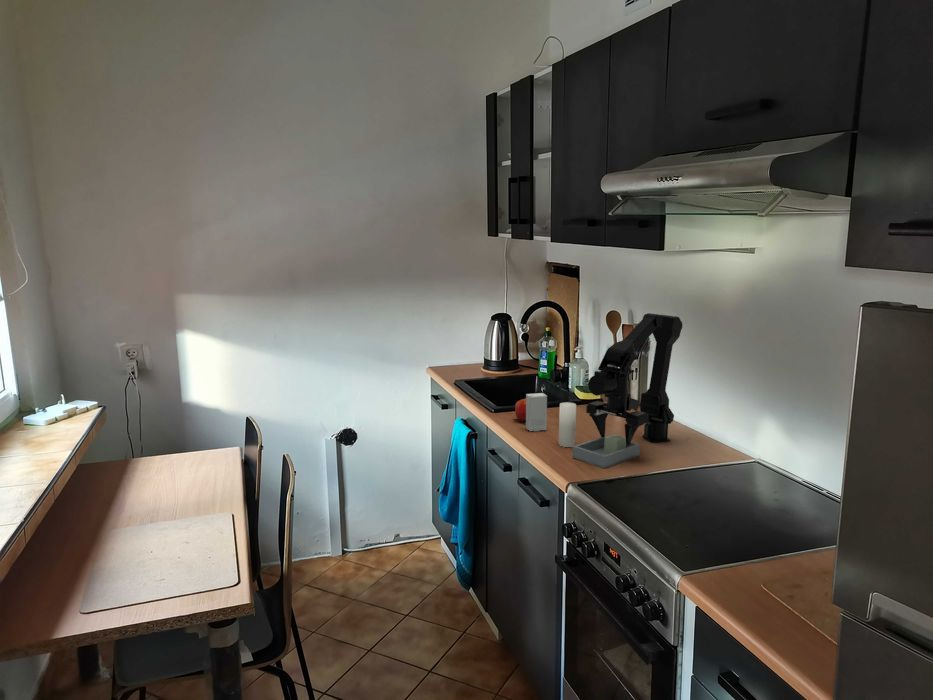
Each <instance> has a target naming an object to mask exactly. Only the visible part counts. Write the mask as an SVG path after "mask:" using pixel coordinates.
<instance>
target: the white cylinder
mask: <svg viewBox="0 0 933 700" xmlns="http://www.w3.org/2000/svg"><path fill="white" fill-rule="evenodd" d="M576 420H577V404H576V403H574V402H567V401H566V402H560V403H559V417H558V444H559V445H560V446H563V447H562V448H564V447H572V448H573V446H576V424H577V421H576ZM559 445H558V446H559ZM560 446H559V447H560Z"/></svg>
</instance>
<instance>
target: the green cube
mask: <svg viewBox="0 0 933 700" xmlns="http://www.w3.org/2000/svg"><path fill="white" fill-rule="evenodd" d="M609 435H610V436H607V435H606V436H607V437H605V441H604V452H607V453H612V452H615V451H618V450H621V449H624V448H626V437H625V436H622V435H620V434H616V433H613V434H609Z"/></svg>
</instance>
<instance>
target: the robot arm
mask: <svg viewBox="0 0 933 700" xmlns="http://www.w3.org/2000/svg"><path fill="white" fill-rule="evenodd" d="M682 329H683V322H682V320H681V318H680V317H679V316H676V315H666V314H658V313H645V314H644V315H643V316H642V319H641V320H640V321H639V322H638V324H637V325H636V326H635V327H634V328H633V329H632V330H631V331H630V332H629V333H628V334H627V335H626V336H625V338H623V340H620V341H618V342H615V343H612V345H610V346H609V347H608V348H607V350H606V351H605V353H604V355H603V358H602V360H601V362H600V364H599V366H598V368H597V370H596V371H595V370H594V375H593V376H591V377H590V378H589V380H588V382H587V383H588V384H587V386H588V387H587V388H588V389H589V392H590V393H591V394H592V395H593V396H596V397H597V396H602V395H604V397H606V398H607V399H606V402H604V401H599V400H596V401H592V402H588V404H587V405H586V407H585V413H586V414H588V415H589V417H591V419H592V420H593V422H594V424H595V427H596V429H597V431H598V433H599V435H600V438H601V437H602V438H603V437H604V436H606V424H607V423H606V422H607V417H608V416H609V415H610V416H613V417H614V416H615V417H619V418H621V419H625V422H626V423H624V434H625V435H624V437H626V444H627V445H629V444H630V443H631V442H632V440H633V438H634V435H635V434H636V432H637V429H638V428H639V427H641V426H643V434H642V437H643V438H644V439H646V440H647V441H649V442H650V443H661V442H670V441H671V438H669V437H668V434H669V425H670V424H672V423H673V421H674V418H675V414H674V413H673V411H672V409H671V408H670V398H669V396H668V394H667V393H668V392H667V391H666V390H667V389H666V388H667V383H668V377H669V372H670V362H671V358H672V357H671V356H672V353H673V346H674V344H675V343H676V341H678V339H679V338H680V337H681V332H682ZM651 336H653V338H654V340H655V344H656V345H655V350H654V356H653V360H652V361H653V362H652V367H651V369H652V370H651V374H650V381H649V387H648V389H647V390H646V391H645V392H642V393H641V395H640V396H641V397H640V400H638V399H635V398H632V397H631V396H632V395H631V393H630V392H629V391H628V389H629V375H631V374H633V370H632V369H631V366H632V365H633V363H634V361H635V360H636V358H637V352H638V350H639V349H640V348H641V346H643V345H644V343H645V342H646V341H647V340H648V339H649V338H650V337H651ZM638 409H639V410H638ZM632 410H634V411H632ZM628 411H632V412H628Z"/></svg>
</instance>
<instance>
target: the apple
mask: <svg viewBox="0 0 933 700" xmlns="http://www.w3.org/2000/svg"><path fill="white" fill-rule="evenodd" d="M514 409H515V410H514V411H515V414H514V415H515V417H516V419H517V420H519V421H521V420H522V422H525V421H526V398H523V399H522V398H521V399H520V400H518V401H516V403H515V405H514Z"/></svg>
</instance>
